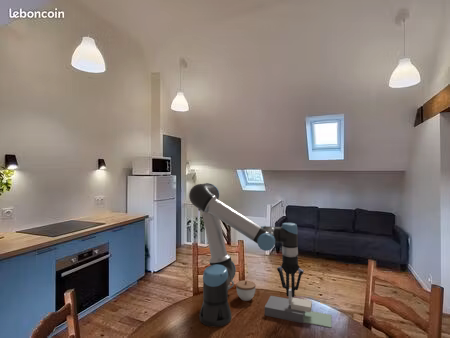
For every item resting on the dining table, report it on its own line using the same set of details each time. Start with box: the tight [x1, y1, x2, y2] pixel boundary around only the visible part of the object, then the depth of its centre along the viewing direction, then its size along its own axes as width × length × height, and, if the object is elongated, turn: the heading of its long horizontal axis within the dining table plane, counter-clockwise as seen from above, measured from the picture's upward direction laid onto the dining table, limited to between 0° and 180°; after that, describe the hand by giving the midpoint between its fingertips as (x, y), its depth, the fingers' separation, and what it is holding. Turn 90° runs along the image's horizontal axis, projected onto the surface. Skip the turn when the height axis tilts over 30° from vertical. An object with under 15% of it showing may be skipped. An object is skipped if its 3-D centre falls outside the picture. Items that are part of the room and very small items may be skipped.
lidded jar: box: [235, 279, 257, 302], centre depth 145 cm, size 11×11×9 cm
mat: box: [303, 310, 332, 329], centre depth 124 cm, size 12×11×1 cm
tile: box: [291, 297, 313, 313], centre depth 127 cm, size 9×7×2 cm
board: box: [264, 295, 305, 324], centre depth 130 cm, size 18×13×4 cm
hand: (290, 302), depth 129 cm, fingers closed
